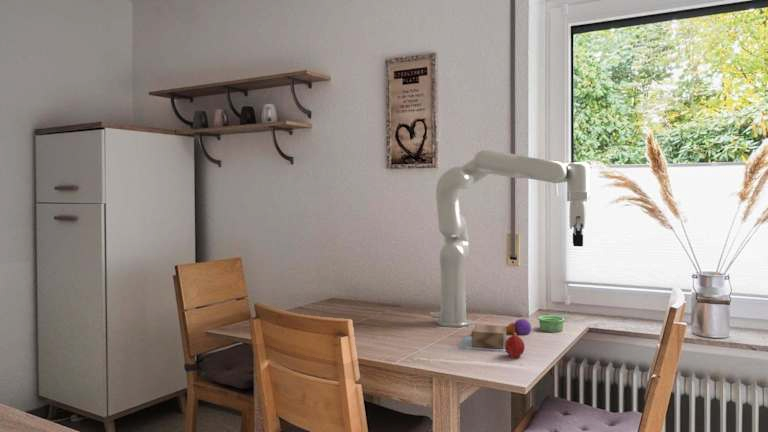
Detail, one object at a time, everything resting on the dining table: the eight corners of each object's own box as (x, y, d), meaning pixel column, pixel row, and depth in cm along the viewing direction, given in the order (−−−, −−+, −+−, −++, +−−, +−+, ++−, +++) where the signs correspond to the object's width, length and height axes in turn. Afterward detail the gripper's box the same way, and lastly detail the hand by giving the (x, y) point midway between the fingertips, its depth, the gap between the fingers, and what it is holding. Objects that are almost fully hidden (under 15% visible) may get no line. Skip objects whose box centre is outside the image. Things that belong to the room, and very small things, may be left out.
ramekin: (565, 333, 206) (565, 321, 206) (539, 332, 208) (539, 320, 207) (562, 327, 215) (562, 315, 214) (537, 326, 216) (537, 315, 216)
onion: (502, 356, 178) (502, 330, 177) (520, 355, 178) (520, 330, 178) (508, 361, 172) (508, 335, 171) (527, 361, 172) (527, 334, 172)
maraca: (472, 324, 204) (526, 317, 207) (474, 341, 204) (528, 334, 206) (476, 324, 199) (532, 318, 201) (478, 342, 198) (534, 335, 200)
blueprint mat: (457, 350, 184) (457, 348, 184) (465, 338, 199) (465, 336, 199) (515, 355, 179) (515, 352, 179) (519, 342, 194) (519, 339, 194)
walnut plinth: (471, 346, 186) (471, 331, 185) (476, 339, 195) (476, 324, 195) (503, 349, 183) (503, 333, 182) (506, 341, 192) (506, 326, 192)
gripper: (566, 196, 216) (566, 242, 217) (567, 197, 199) (567, 247, 200) (588, 196, 214) (587, 243, 214) (590, 197, 197) (590, 247, 198)
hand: (577, 244), depth 207 cm, fingers open, 9 cm apart
